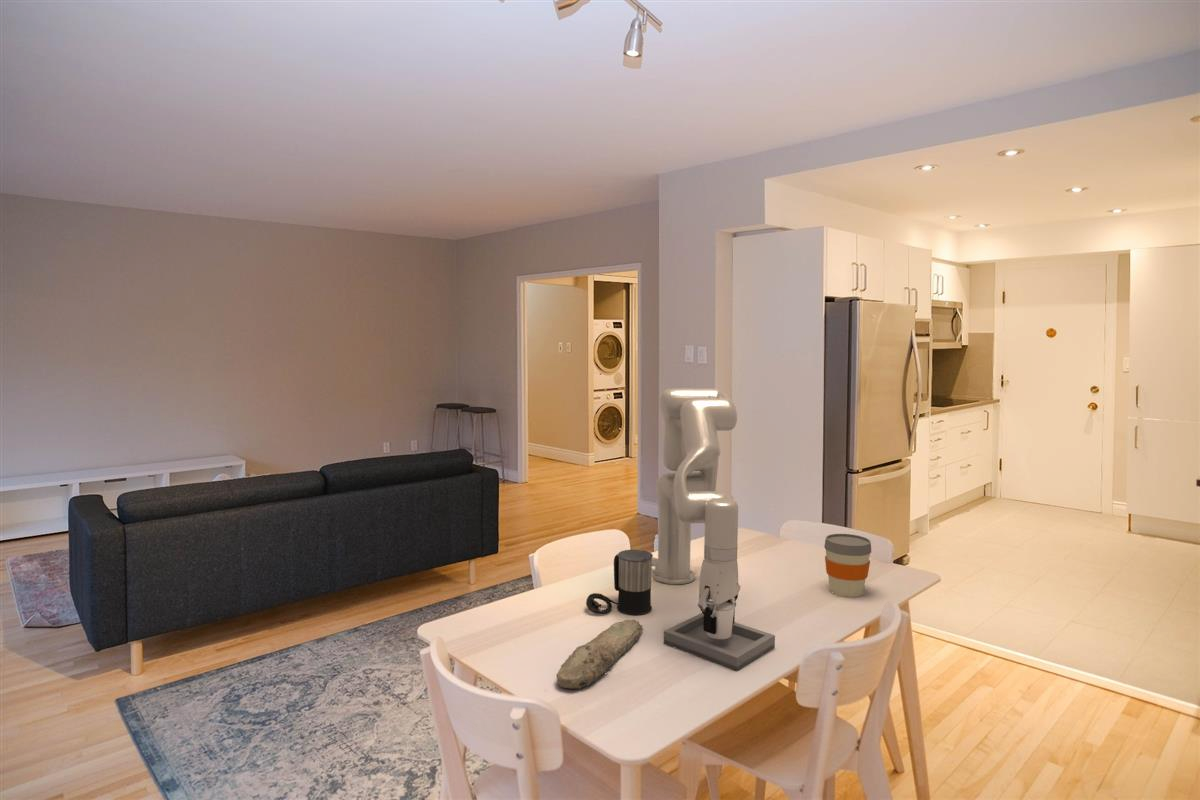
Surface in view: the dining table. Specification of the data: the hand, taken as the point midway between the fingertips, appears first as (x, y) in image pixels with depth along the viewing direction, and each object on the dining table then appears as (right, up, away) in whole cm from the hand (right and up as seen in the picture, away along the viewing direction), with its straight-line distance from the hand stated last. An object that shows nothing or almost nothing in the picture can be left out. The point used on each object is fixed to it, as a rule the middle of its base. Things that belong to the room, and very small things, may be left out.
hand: (719, 626), depth 165 cm
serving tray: (0, -4, 0) cm, 4 cm away
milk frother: (-23, -3, +22) cm, 31 cm away
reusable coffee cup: (+42, -2, +36) cm, 55 cm away
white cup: (0, -2, 0) cm, 2 cm away
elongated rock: (-27, -6, -6) cm, 28 cm away
